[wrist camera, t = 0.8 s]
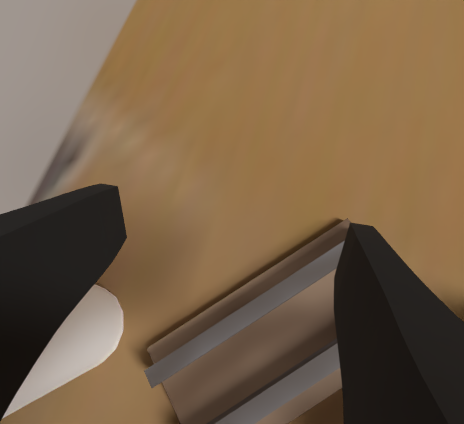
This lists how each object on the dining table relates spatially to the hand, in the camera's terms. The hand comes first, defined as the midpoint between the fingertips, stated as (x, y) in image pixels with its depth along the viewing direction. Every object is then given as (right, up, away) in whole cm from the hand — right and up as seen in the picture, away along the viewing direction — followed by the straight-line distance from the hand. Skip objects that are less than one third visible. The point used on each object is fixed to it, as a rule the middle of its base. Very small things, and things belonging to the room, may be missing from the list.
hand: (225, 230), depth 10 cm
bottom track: (+4, -9, +13) cm, 16 cm away
